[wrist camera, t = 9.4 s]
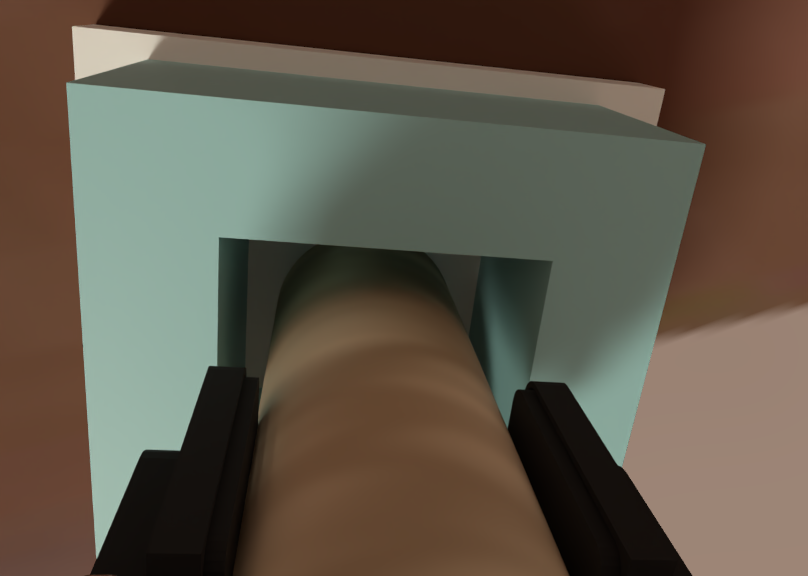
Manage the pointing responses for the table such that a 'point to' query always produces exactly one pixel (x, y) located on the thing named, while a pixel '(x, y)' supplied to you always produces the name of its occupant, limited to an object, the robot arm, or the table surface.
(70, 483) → the table surface
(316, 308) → the beech pin
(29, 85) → the table surface
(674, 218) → the dock board
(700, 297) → the table surface
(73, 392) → the table surface
